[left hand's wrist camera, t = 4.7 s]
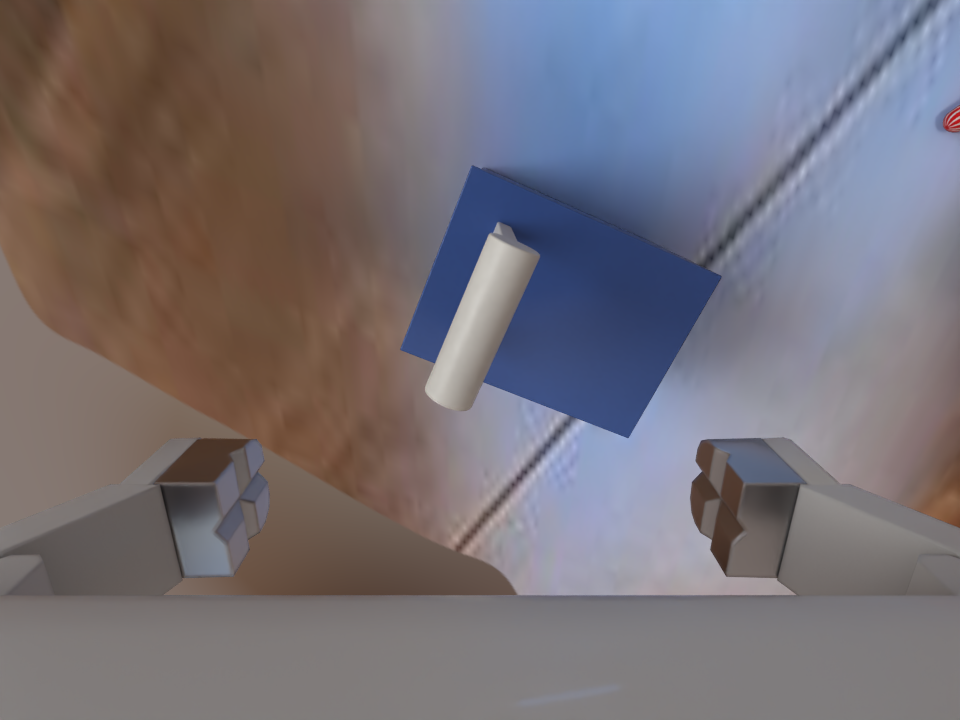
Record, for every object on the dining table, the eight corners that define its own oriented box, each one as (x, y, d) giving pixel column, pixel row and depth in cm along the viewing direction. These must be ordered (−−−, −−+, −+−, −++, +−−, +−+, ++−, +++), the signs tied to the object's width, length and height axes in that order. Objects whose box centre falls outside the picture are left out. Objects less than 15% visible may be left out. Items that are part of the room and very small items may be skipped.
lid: (402, 344, 28) (369, 423, 20) (472, 165, 25) (467, 167, 17) (624, 430, 30) (680, 537, 21) (714, 272, 27) (821, 324, 18)
